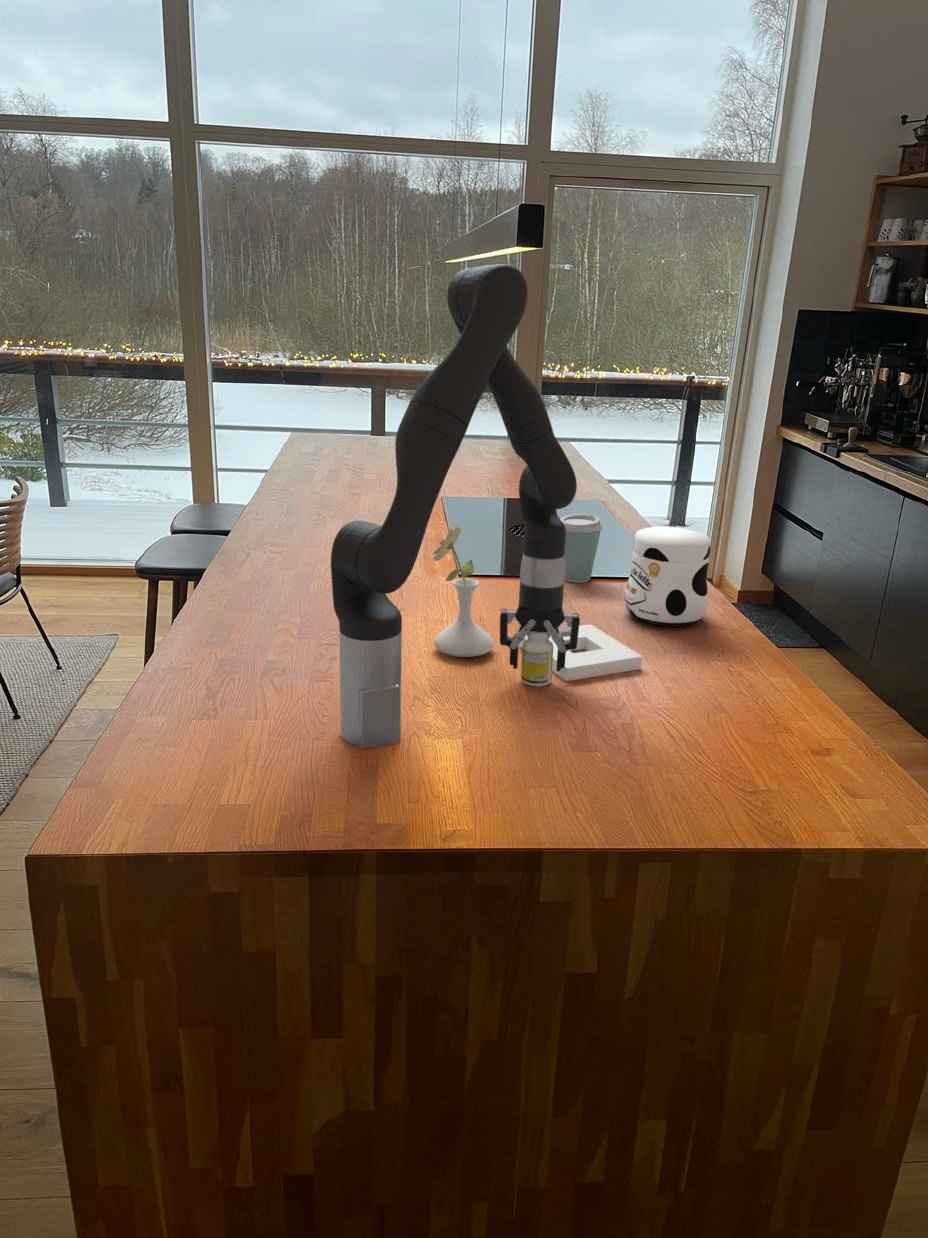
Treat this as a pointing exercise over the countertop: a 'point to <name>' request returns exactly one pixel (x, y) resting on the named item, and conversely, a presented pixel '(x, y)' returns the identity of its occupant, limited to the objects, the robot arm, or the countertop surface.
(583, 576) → the disposable coffee cup
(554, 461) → the robot arm
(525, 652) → the supplement bottle
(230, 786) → the countertop surface
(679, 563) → the milk container
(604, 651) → the socket plate
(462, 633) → the flower in vase
